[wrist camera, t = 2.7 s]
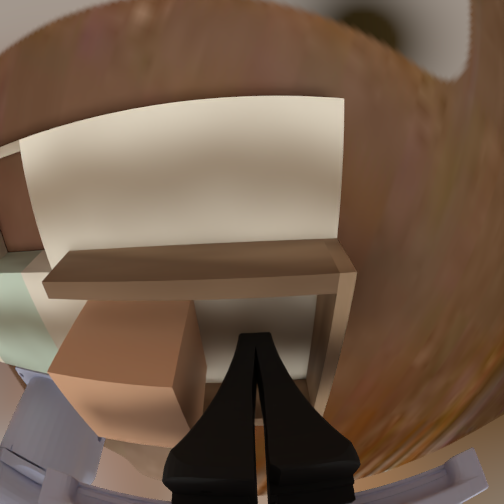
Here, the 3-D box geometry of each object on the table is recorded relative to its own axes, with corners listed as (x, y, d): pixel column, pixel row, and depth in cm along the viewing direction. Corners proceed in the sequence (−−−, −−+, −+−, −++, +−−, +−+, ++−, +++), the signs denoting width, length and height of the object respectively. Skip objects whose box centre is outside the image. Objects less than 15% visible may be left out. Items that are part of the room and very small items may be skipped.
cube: (207, 367, 15) (199, 449, 11) (122, 363, 15) (98, 436, 11) (192, 292, 13) (172, 387, 8) (92, 293, 13) (46, 371, 8)
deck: (307, 355, 18) (314, 385, 16) (-3, 338, 18) (-15, 357, 16) (325, 98, 11) (344, 98, 9) (-65, 179, 11) (-87, 191, 9)
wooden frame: (314, 385, 16) (321, 419, 14) (127, 386, 16) (117, 417, 14) (337, 238, 11) (357, 272, 9) (69, 250, 11) (41, 282, 9)
